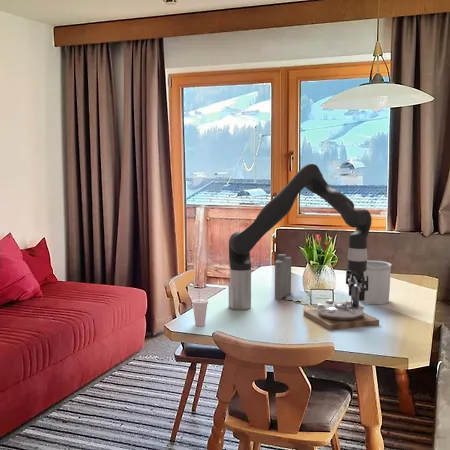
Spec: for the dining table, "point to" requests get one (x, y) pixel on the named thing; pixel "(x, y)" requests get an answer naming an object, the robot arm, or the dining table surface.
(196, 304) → the smoothie
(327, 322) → the brown wooden board
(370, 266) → the utensil holder
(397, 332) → the dining table surface
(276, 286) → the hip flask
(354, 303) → the silver round piece
